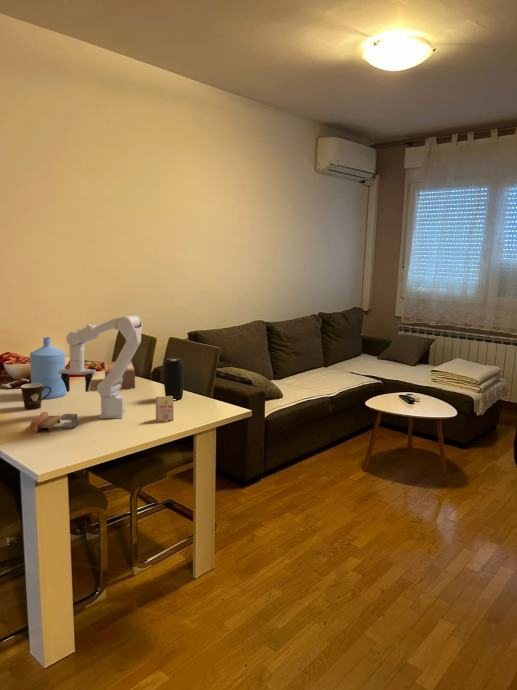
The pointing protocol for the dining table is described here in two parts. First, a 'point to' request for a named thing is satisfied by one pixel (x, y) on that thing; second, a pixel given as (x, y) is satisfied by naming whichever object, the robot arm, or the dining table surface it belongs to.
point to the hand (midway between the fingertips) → (77, 391)
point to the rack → (44, 422)
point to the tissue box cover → (127, 376)
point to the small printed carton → (164, 408)
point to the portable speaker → (174, 377)
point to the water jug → (48, 369)
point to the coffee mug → (33, 395)
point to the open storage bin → (73, 418)
